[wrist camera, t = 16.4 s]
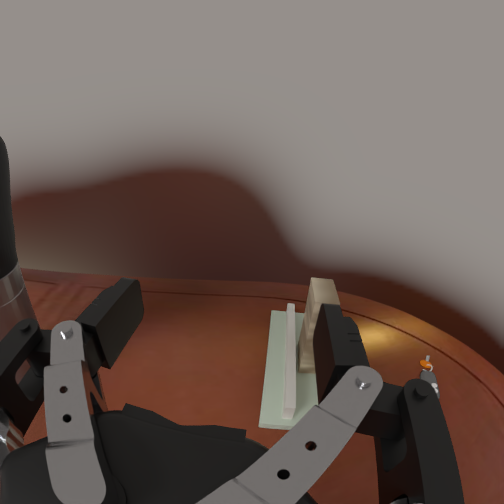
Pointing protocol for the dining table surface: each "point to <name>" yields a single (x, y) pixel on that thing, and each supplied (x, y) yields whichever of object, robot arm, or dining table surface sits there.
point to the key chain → (429, 375)
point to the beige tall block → (313, 320)
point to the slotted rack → (285, 374)
